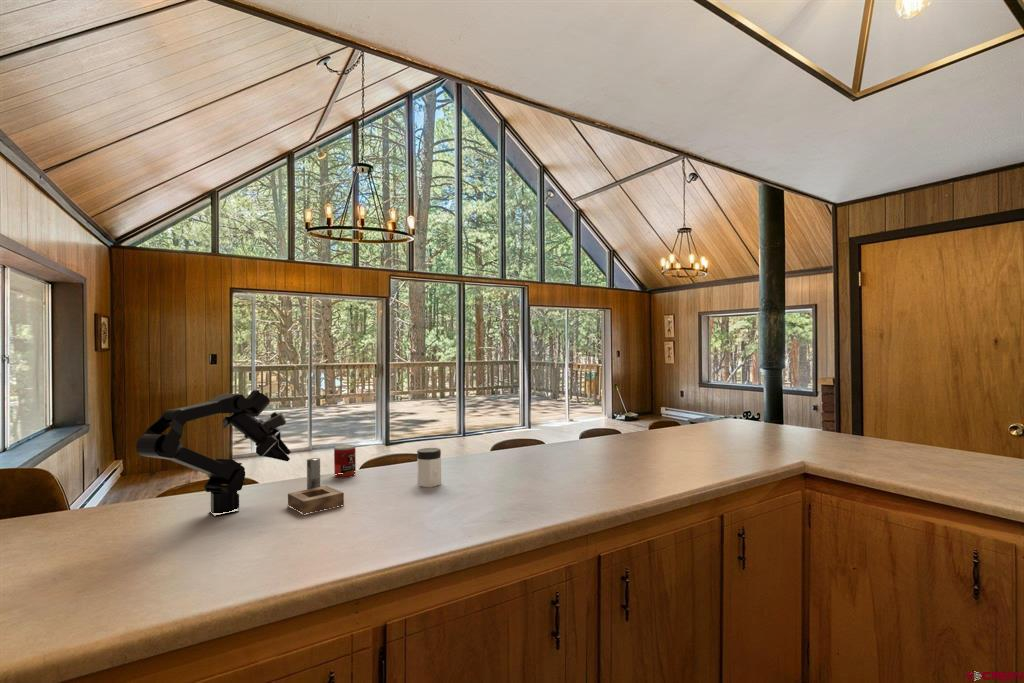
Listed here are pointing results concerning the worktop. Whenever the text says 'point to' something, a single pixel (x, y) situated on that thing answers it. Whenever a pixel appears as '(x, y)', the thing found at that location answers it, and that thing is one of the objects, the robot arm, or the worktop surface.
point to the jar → (429, 467)
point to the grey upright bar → (313, 473)
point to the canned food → (344, 460)
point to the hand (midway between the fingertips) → (289, 456)
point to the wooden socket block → (315, 499)
